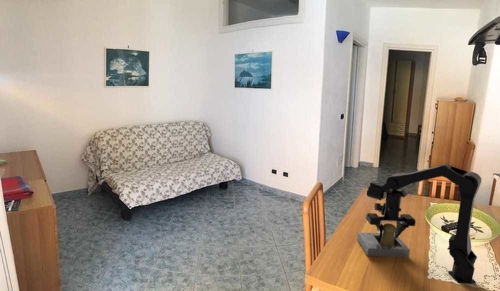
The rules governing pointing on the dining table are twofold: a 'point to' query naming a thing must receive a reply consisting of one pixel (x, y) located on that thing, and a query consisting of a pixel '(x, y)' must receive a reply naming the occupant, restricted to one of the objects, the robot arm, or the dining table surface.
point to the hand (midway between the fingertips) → (387, 237)
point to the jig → (375, 249)
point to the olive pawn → (388, 235)
